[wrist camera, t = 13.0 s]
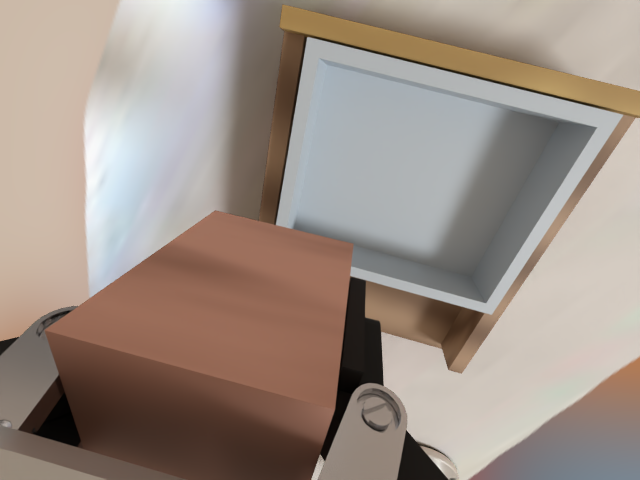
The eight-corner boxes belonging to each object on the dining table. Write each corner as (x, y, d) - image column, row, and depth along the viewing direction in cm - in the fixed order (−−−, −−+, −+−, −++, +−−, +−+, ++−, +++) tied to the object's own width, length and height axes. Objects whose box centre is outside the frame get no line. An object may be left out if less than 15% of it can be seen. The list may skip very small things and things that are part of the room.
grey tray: (473, 282, 25) (491, 314, 21) (285, 231, 25) (271, 254, 21) (571, 111, 18) (623, 114, 15) (319, 49, 19) (307, 36, 15)
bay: (448, 343, 29) (462, 387, 25) (260, 290, 30) (241, 323, 26) (596, 98, 19) (666, 97, 14) (302, 25, 20) (282, 4, 15)
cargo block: (325, 346, 12) (290, 539, 7) (212, 317, 12) (94, 480, 7) (353, 243, 10) (334, 409, 5) (215, 210, 10) (44, 330, 5)
